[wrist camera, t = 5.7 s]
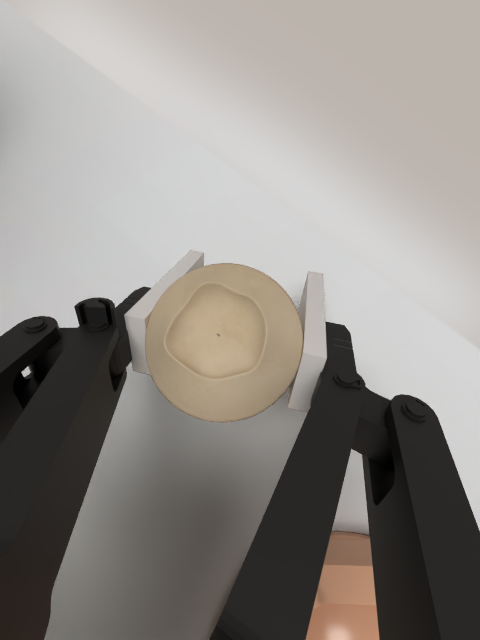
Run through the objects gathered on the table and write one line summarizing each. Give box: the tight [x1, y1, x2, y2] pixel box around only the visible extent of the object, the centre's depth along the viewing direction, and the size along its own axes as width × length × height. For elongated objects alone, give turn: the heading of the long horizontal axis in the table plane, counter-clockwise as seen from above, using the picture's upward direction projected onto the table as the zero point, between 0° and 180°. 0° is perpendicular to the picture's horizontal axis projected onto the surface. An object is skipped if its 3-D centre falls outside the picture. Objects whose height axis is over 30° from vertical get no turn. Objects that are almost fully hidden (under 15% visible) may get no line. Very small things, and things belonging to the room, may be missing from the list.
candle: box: [145, 263, 303, 422], centre depth 13 cm, size 6×6×10 cm
